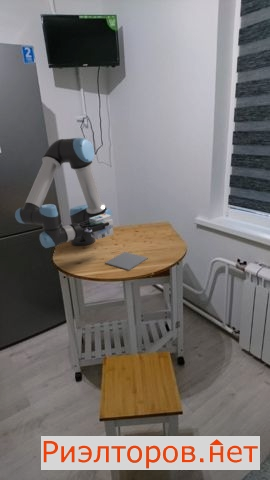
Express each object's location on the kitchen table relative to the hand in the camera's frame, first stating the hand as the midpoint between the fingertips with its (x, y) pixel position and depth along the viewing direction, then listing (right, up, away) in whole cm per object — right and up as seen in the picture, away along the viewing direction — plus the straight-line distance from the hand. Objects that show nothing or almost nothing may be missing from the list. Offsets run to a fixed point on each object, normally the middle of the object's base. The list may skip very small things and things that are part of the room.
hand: (108, 220), depth 153 cm
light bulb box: (-3, -8, 0) cm, 9 cm away
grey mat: (+10, -22, -4) cm, 24 cm away
